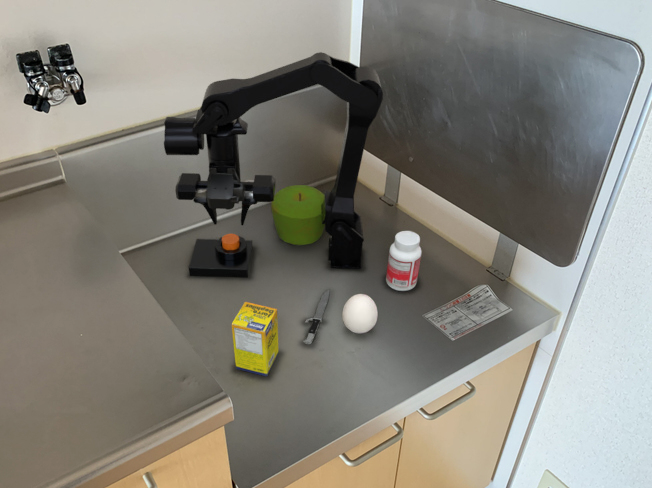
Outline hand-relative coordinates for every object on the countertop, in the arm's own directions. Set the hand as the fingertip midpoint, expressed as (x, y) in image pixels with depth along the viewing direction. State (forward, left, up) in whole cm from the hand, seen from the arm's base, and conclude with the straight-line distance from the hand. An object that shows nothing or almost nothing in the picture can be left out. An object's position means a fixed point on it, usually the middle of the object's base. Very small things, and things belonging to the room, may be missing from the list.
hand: (229, 223), depth 123 cm
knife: (-18, +17, -9) cm, 26 cm away
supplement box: (-8, +29, -9) cm, 31 cm away
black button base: (+2, +1, -9) cm, 9 cm away
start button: (0, 0, -5) cm, 5 cm away
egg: (-26, +20, -9) cm, 34 cm away
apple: (-14, -9, -9) cm, 19 cm away
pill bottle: (-35, +6, -9) cm, 37 cm away
